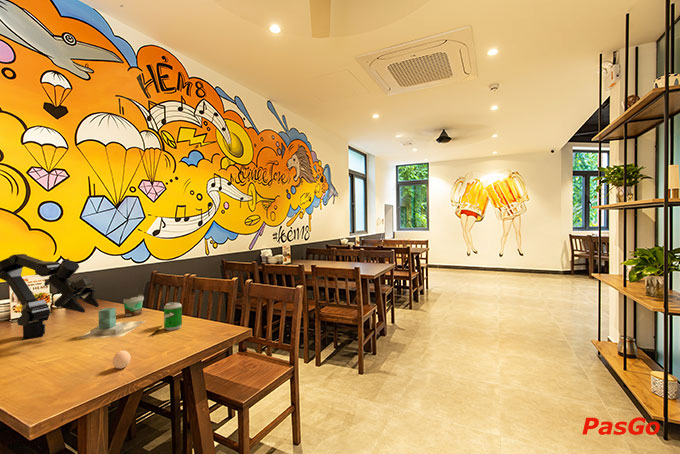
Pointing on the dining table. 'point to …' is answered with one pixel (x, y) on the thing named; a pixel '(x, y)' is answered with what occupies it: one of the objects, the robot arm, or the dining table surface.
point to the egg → (121, 359)
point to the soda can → (172, 316)
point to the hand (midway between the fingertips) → (91, 309)
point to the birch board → (127, 328)
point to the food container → (133, 306)
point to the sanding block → (107, 323)
